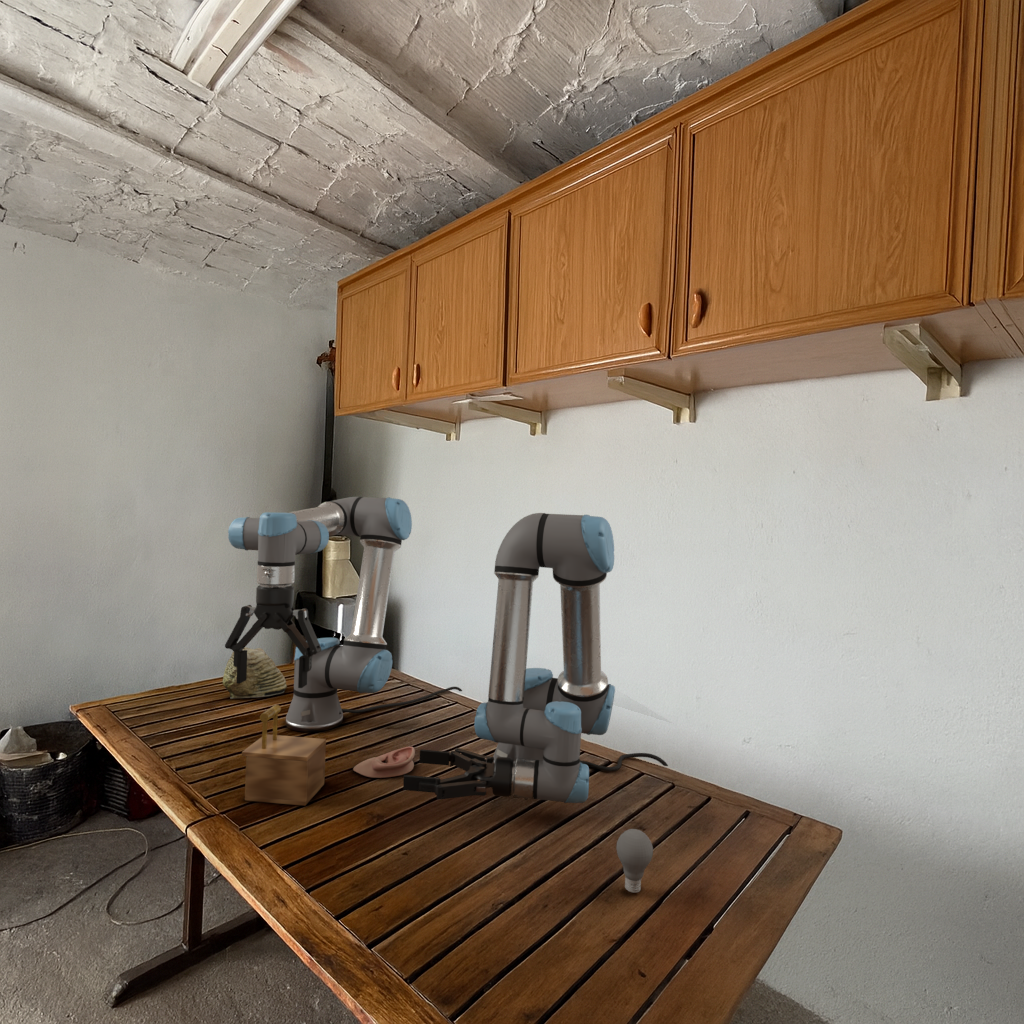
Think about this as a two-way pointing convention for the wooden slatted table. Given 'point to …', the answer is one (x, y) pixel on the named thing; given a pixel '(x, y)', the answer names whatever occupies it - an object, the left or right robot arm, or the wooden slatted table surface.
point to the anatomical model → (388, 764)
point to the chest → (284, 779)
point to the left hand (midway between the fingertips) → (271, 684)
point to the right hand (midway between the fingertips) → (412, 768)
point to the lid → (282, 742)
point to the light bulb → (634, 857)
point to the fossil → (254, 676)
